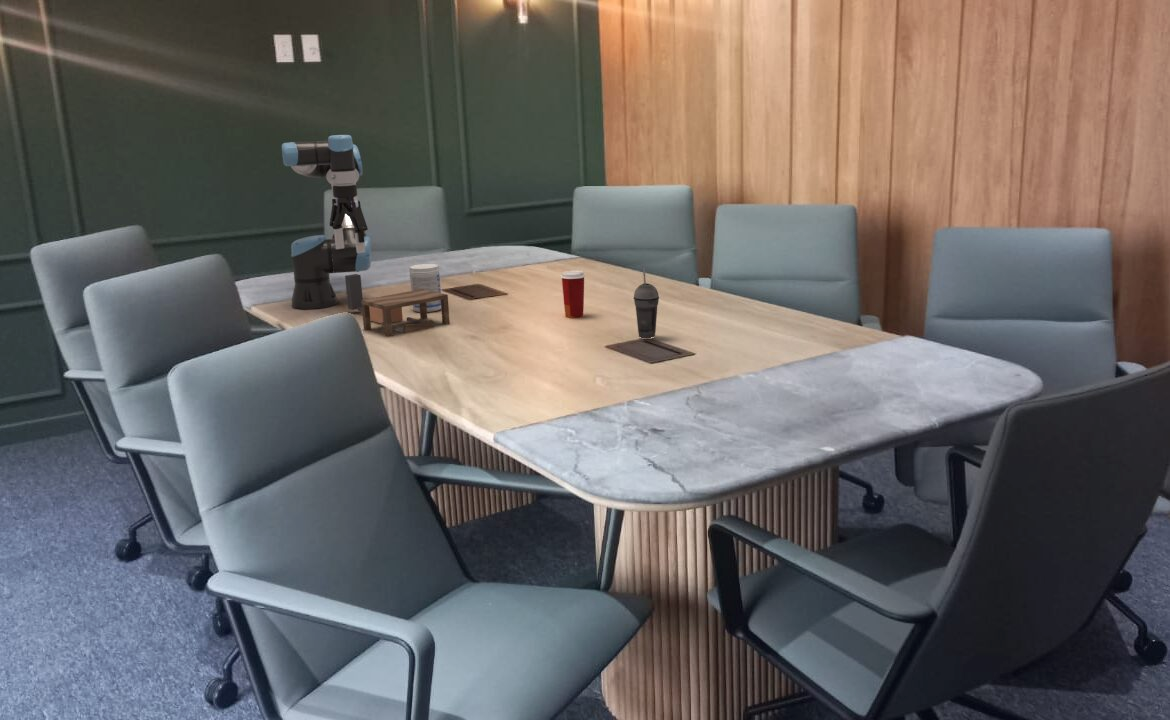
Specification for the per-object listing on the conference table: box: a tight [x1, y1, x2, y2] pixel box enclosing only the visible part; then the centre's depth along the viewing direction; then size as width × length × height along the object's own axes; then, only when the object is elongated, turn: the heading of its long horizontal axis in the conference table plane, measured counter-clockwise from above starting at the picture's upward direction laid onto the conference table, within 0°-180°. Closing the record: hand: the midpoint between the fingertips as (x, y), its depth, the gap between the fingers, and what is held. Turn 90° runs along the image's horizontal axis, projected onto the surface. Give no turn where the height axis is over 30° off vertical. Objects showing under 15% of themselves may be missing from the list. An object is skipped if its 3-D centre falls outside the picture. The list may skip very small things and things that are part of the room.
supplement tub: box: [409, 263, 442, 313], centre depth 333 cm, size 10×10×15 cm
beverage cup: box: [633, 266, 660, 338], centre depth 286 cm, size 7×7×20 cm
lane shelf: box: [361, 289, 451, 337], centre depth 310 cm, size 14×22×9 cm, turn 132°
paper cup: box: [560, 270, 586, 319], centre depth 316 cm, size 8×8×14 cm
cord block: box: [344, 273, 404, 325], centre depth 325 cm, size 24×7×12 cm, turn 42°
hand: (350, 250), depth 329 cm, fingers open, 13 cm apart
